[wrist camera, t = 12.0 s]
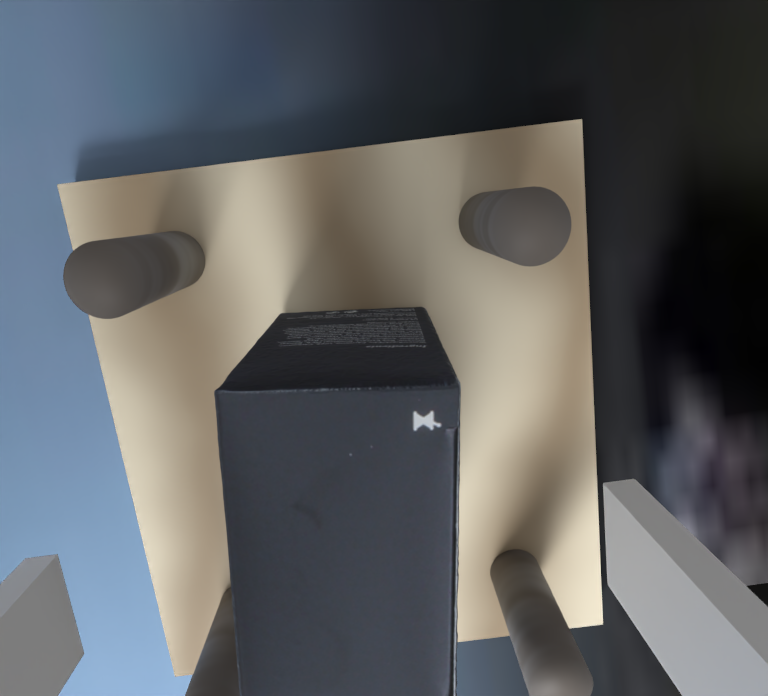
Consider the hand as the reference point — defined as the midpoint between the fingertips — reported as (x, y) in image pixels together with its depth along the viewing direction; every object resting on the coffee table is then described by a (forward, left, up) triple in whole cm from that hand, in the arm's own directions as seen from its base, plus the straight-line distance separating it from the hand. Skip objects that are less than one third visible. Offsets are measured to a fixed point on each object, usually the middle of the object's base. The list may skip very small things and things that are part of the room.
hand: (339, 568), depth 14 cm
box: (0, 0, -9) cm, 9 cm away
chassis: (0, 0, -10) cm, 10 cm away
